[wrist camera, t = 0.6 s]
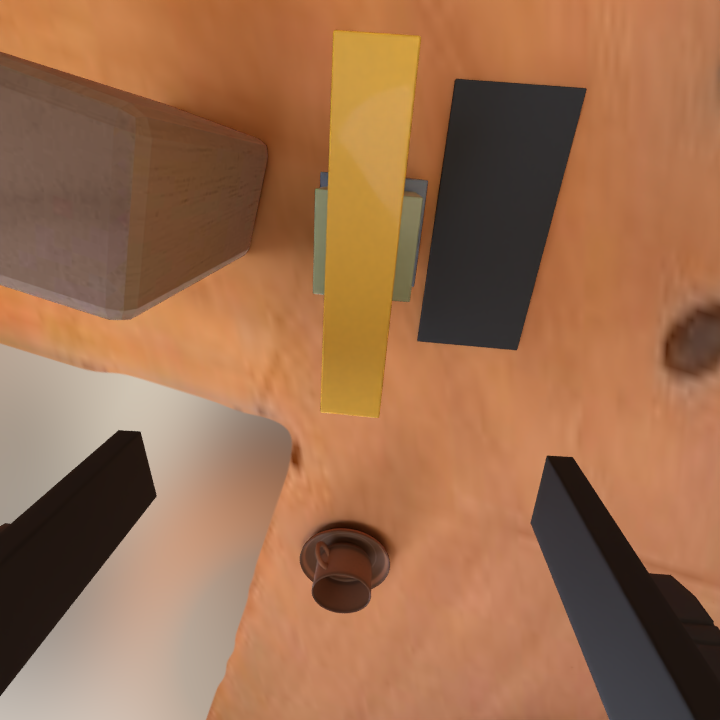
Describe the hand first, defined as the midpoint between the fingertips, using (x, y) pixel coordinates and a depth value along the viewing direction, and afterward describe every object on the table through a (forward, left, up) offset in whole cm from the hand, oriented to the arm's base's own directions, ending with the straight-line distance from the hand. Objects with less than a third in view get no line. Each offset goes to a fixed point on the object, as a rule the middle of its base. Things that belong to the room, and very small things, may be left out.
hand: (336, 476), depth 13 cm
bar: (-5, 0, -14) cm, 14 cm away
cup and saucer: (+38, 0, -28) cm, 47 cm away
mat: (-5, +10, -28) cm, 30 cm away
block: (-7, -15, -28) cm, 32 cm away
